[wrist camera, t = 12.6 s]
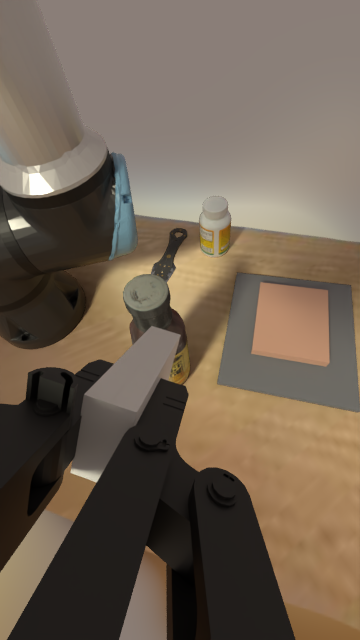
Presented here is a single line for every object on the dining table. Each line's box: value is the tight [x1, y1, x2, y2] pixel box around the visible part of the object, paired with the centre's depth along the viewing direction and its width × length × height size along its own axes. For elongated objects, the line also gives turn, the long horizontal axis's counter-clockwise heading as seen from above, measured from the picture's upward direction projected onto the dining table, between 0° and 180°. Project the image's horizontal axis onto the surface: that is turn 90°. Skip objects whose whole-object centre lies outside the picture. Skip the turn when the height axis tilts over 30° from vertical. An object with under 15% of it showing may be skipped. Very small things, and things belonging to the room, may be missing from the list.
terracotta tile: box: [251, 282, 330, 367], centre depth 41 cm, size 2×10×12 cm
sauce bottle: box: [123, 274, 190, 385], centre depth 32 cm, size 6×6×20 cm
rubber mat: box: [217, 273, 360, 412], centre depth 41 cm, size 20×18×1 cm
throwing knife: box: [151, 228, 187, 283], centre depth 51 cm, size 4×20×1 cm, turn 162°
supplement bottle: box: [199, 196, 231, 257], centre depth 48 cm, size 5×5×10 cm
